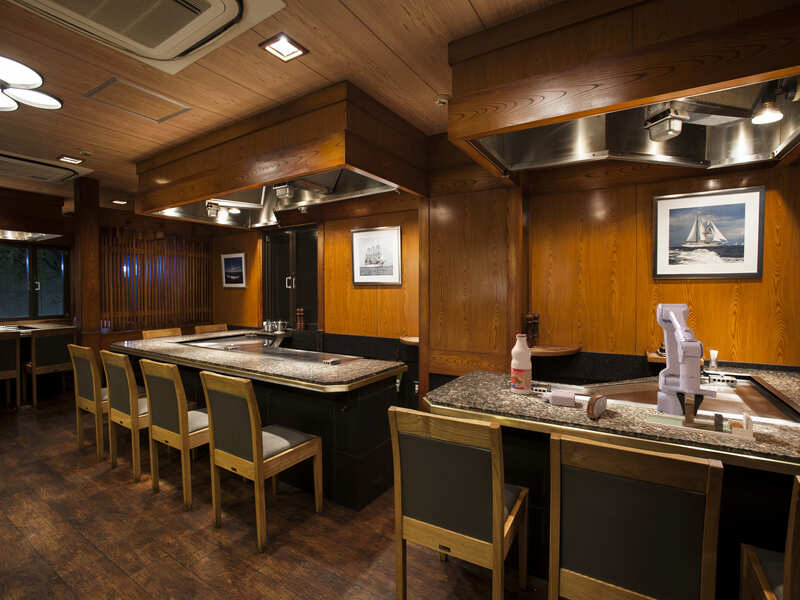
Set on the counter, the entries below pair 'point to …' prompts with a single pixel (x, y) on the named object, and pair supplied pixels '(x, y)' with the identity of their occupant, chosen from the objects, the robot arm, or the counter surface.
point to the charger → (560, 398)
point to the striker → (690, 422)
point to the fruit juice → (521, 366)
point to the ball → (736, 425)
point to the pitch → (676, 424)
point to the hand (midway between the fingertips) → (689, 415)
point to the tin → (596, 405)
